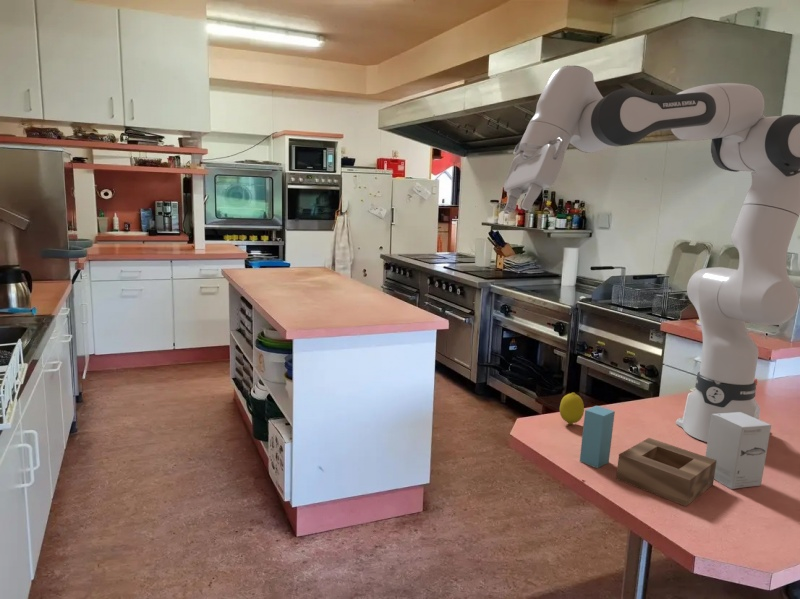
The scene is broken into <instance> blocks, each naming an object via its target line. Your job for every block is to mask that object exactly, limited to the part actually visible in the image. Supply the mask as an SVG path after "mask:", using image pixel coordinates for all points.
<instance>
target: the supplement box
mask: <svg viewBox="0 0 800 599" xmlns="http://www.w3.org/2000/svg"><path fill="white" fill-rule="evenodd" d="M771 429H772V424H771V423H768V422H766V421H763V420H762V419H761V420H760V418H759V419H756V418H754V417H751V416H749V415H747V414H744V413H742V412H733V413H719V414H712V416H711V423H710V429H709V436H708V442H706V449H705V450H706V451H705V455H704V456H705V457H708V458H711V459H714V460H717V462H716V468H715V475H714V481H717V483H719V484H722V485H723V486H725V487H727V488H729V490H735V489H741V488H749V487H760V486H762V481H763V476H764V470H765V464H766V459H767V452H768V446H769V440H770V435H771Z"/></svg>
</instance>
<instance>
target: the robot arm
mask: <svg viewBox="0 0 800 599" xmlns="http://www.w3.org/2000/svg"><path fill="white" fill-rule="evenodd" d="M535 107H536V108H535V113H534V115H533V116H532V118H531V119H530V121H529V122H528V124H527V126H526V128H525V129H526V130H525V131H524V133H523V135H522V138H521V140H520V141H519V142H518V143H517V144H516V146H515V148H514V150H513V155H514V158H513V160H512V161H511V164H510V167H509V168H508V172H507V175H506V178H505V180H504V184H503V190H504V192H506V193H508V194H507V200H506V204H505V207H504V212H505V213H508V214H513V213H515V211H516V209H517V203H518V200H520V197H521V196H523V195H525V196H524V198H522V200H521V203H520V204H519V207H520V209H522V210H525V211H530V210H531V209H532V207H533V206H534V205H533V204H534V202H535V201H536V200H537V199H538V198H539V196H540V195H541V193H542V190H543V189H544V190H545V189H548V188H551V187H552V186H553V185H554V183H555V182H556V180H557V178H558V176H559V172H560V169H561V166H562V164H563V161H564V159H565V154H566V152H567V150H568V147H569V145H571V146H572V147H574V148H575V149H576V150H578V151H580V152H582V153H586V154H587V153H589V154H591V153H598V152H603V151H606V150H610V149H613V148H617V147H624V146H629V145H633V144H635V143H636V144H637V143H638V142H639V141H641V140H642V139H644V138H645V137H647V136H648V135H650V134H651V133H654V132H659V131H668V130H669V131H671V133H672V134H673V135H674V136H675V137H676V138H677V139H678V140H681V141H682V140H683V141H693V142H694V141H706V140H711V144H710V153H711V157H712V161H713V162H714V164H715V165H716V166H717V167H718V168H720V169H721V170H724V171H729V172H734V173H737V172H750V173H751V174H750V175H751V186H750V187H749V190H748V192H747V194H746V196H745V198H744V201H743V202H742V203H743V204H742V206H741V209H740V211H739V214H738V217H737V219H736V221H735V224H734V226H733V227H734V228H733V230H732V232H731V236H730V237H731V238H730V239H731V242H732V245H733V246H734V248H735V249H737V251H738V255H739V256H738V257H739V259H738V260H739V261H738V267H737V269H735V268H730V267H723V266H718V267H717V266H716V267H713V266H712V267H705V268H701V269H698V270H697V271H695V272H694V273H693V274H692V275H691V276H690V278H689V280H688V282H687V286H686V293H687V297H688V299H689V301H690V302H691V304H692V305H693V306H694V308H695V311H696V312H697V316H698V318H699V324H700V328H701V334H702V348H701V359H700V367H699V372H697V373H696V374H697V375H696V377H695V386H694V387H695V389H694V390H692V391H690V392H688V394H687V398H686V401H685V407H684V411H683V416H682V417H679V418H677V419H676V420H675V424H676V425H677V426H679V427H681V429H683V430H684V432H685V433H686V434H688V435H689V436H691V437H693V438H695V439H696V440H700V441H702V442H705V443H707V442H708V436H709V429H710V423H711V416H712V414H719V413H733V412H742V413H744V414H747V415H749V416H751V417H754V418H756V419H759V420H760V413H761V407H760V405H759V403H758V402H757V401H756V399H755V398H756V392H757V385H758V379H757V378H756V373H757V365H758V360H759V353H760V352H759V347H758V345H757V343H756V342H755V341H754V339H753V338H752V337H751V335H750V334H749V332H748V329H747V324H746V323H749V324H752V325H759V326H760V325H761V326H779V325H783V324H785V323H787V322H788V321H790V320H791V319H792V318H793V316H794V315H795V314H796V311H797V310H798V306H799V302H800V301H799V292H798V291H797V288H796V287H795V285H793V283H792V281H791V279H790V277H789V274H788V266H787V257H788V256H787V255H788V249H789V246H790V243H791V240H792V237H793V233H794V231H795V228H796V226H797V222H798V220H799V217H800V114H785V115H781V116H779V115H778V116H767V117H766V116H765V114H764V111H765V99H764V96H763V93H762V92H761V91H760V89H758V88H757V87H755V86H754V85H751V84H745V83H737V82H725V83H724V82H722V83H721V82H719V83H711V84H709V83H708V84H703V85H699V86H693V87H690V88H687V89H684V90H682V91H679V92H677V93H676V94H665V95H653V94H648V93H646V92H644V91H643V92H642V91H640V90H637V89H634V88H629V87H627V88H625V87H624V88H619V89H617V90H614V91H612V92H610V93H609V94H607V95H606V96H603V95H602V94H601V92H600V90H599V89H598V87H597V85H596V83H595V79H594V74H593V72H592V71H591V70H590V69H589V68H586V67H584V66H580V65H564V66H562V67H559V68H557V69H556V70H554V71H553V73H552V74H550V77H549V79H548V80H547V82H546V84H545V86H544V88H543V90H542V92H541V94H540V96H539V99H538V101H537V103H536V106H535Z"/></svg>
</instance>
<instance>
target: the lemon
mask: <svg viewBox="0 0 800 599" xmlns="http://www.w3.org/2000/svg"><path fill="white" fill-rule="evenodd" d="M559 404H560V405H559V415H560V416H561V418H562V419H563V421H564V422H566V423H567V424H568V425H570V426H572V425H573V424H576V423H578V422H580V421H581V420H582V418H583V417H584V414H585V405H584V401H583V399H582V397H581V396H579V395H578V394H576V393H575V392H571V393H567V394H566V395H564V396H563V397H562V399H561V401H560V403H559Z"/></svg>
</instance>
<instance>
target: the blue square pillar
mask: <svg viewBox="0 0 800 599" xmlns="http://www.w3.org/2000/svg"><path fill="white" fill-rule="evenodd" d="M583 417H584V418H583V426H582V427H583V428H582V435H581V436H582V437H581V445H580V446H581V447H580V456H579V463H583V464H586V465H588V466H591V467H593V468H596V469H599V468H601V467H603V466H605V465H607V464H608V463H610V457H611V456H610V455H611V447H612V446H611V445H612V439H613V438H612V437H613V428H614V421H615V410H612V409H609V408H605V407H602V406H600V405H594V406H592V407H590V408H586V409H584V416H583Z"/></svg>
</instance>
